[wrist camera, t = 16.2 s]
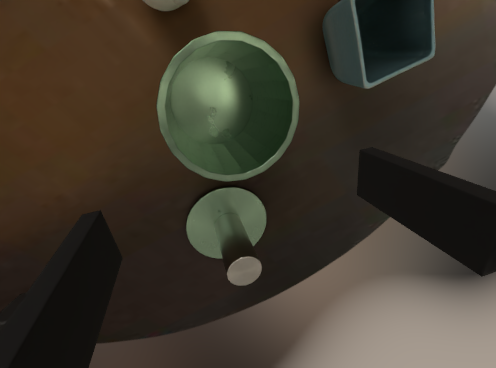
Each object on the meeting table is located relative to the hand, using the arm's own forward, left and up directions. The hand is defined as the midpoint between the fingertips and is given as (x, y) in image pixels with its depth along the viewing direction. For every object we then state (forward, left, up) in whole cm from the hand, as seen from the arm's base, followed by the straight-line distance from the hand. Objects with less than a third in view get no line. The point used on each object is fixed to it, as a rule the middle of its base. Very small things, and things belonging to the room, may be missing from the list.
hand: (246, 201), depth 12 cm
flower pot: (-8, +20, -21) cm, 30 cm away
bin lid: (+14, +1, -21) cm, 25 cm away
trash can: (-3, +2, -21) cm, 22 cm away
